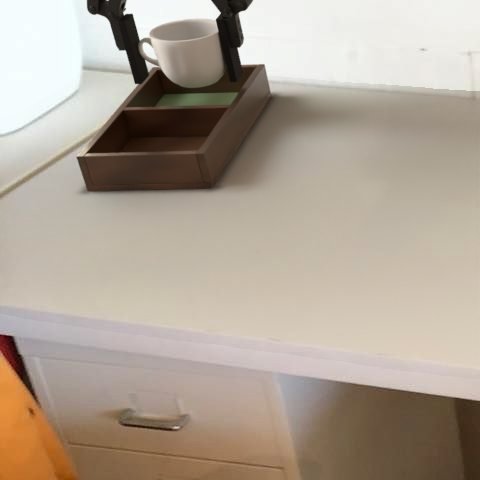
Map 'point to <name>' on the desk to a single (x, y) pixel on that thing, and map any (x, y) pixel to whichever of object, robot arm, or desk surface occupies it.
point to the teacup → (187, 51)
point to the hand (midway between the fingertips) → (189, 78)
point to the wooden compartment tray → (174, 133)
